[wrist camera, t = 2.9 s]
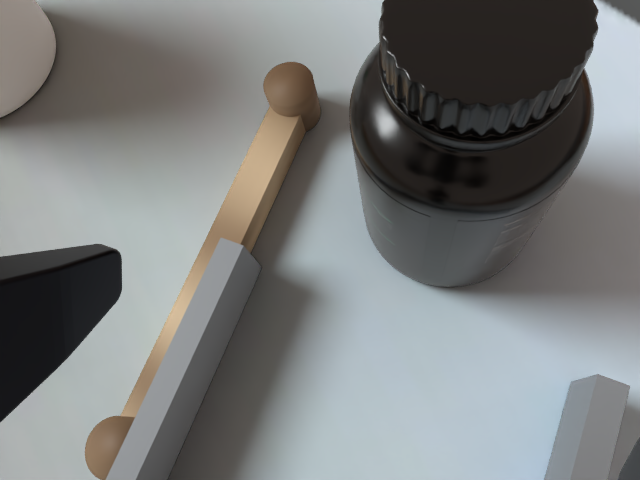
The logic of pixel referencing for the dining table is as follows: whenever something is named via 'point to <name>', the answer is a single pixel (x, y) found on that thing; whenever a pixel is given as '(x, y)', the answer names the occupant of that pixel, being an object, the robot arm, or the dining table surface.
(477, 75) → the supplement bottle
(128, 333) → the dining table surface
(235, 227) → the rail
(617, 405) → the bay
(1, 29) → the pill bottle
